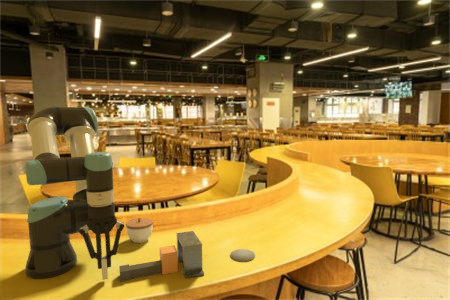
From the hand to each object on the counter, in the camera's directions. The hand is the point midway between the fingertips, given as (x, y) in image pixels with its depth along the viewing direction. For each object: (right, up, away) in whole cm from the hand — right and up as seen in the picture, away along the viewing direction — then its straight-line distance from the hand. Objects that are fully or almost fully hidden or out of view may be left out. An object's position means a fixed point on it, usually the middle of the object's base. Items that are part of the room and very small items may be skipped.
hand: (105, 277), depth 92 cm
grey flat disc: (+44, +1, +17) cm, 47 cm away
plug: (+12, -1, +5) cm, 13 cm away
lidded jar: (+2, +2, +31) cm, 31 cm away
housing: (+25, 0, +10) cm, 27 cm away
